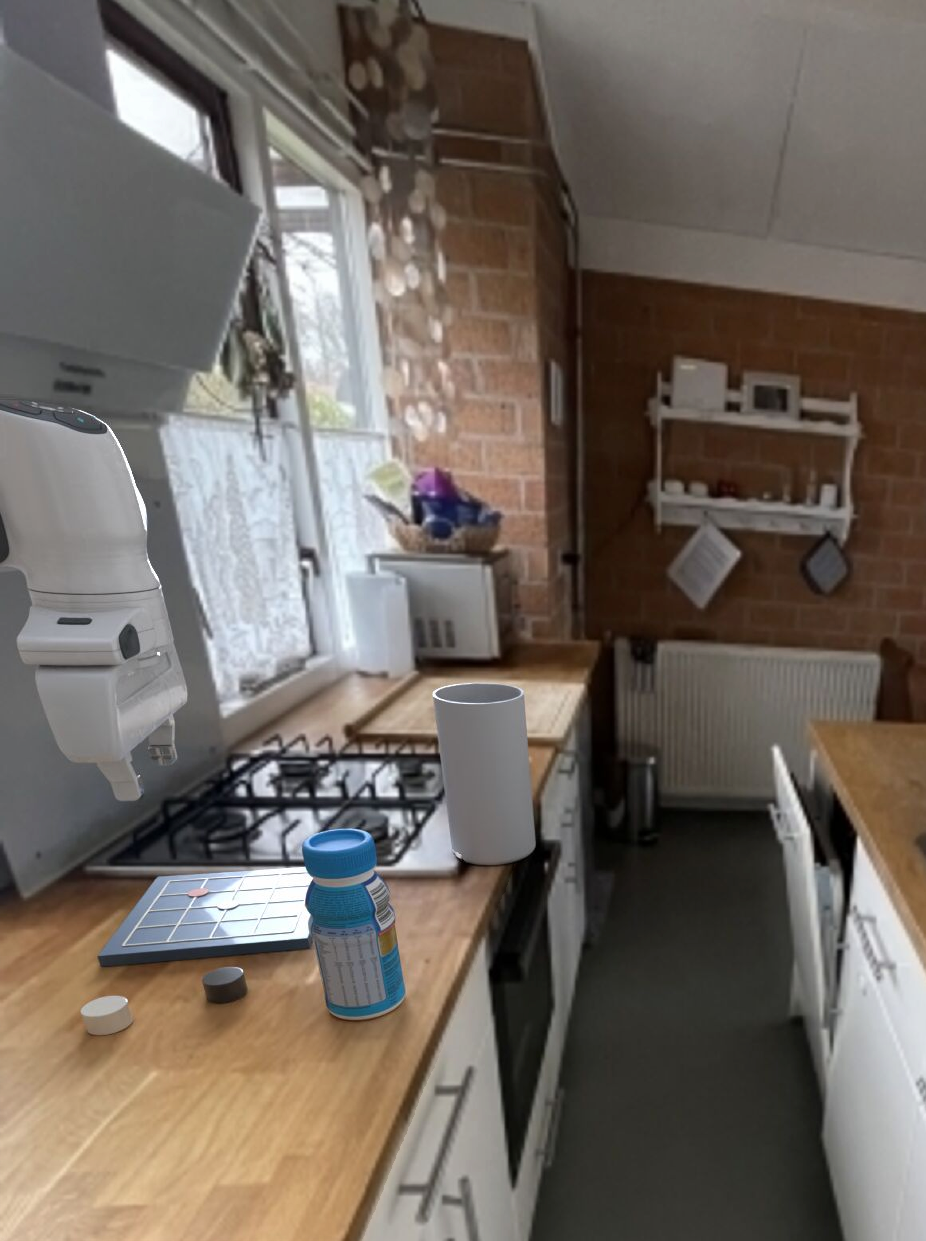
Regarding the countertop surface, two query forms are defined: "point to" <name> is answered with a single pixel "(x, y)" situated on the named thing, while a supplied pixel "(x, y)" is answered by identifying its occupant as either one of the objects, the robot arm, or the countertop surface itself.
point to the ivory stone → (106, 1015)
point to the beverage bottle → (352, 925)
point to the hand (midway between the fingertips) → (149, 780)
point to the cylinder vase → (486, 771)
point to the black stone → (224, 984)
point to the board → (214, 917)
